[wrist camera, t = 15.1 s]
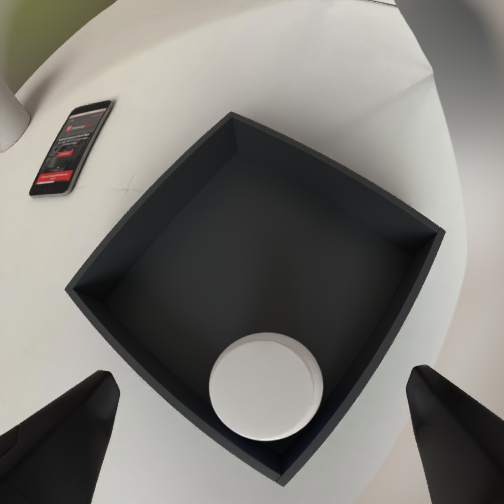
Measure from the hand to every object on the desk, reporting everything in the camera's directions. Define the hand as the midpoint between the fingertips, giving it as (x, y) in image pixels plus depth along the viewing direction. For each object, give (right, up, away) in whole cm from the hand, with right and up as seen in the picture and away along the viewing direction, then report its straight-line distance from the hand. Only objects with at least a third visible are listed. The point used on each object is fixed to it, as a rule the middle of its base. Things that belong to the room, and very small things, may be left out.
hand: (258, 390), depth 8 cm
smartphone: (-23, +17, +24) cm, 37 cm away
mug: (-41, +23, +28) cm, 55 cm away
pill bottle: (+1, -5, +12) cm, 13 cm away
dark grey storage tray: (0, +1, +15) cm, 15 cm away
